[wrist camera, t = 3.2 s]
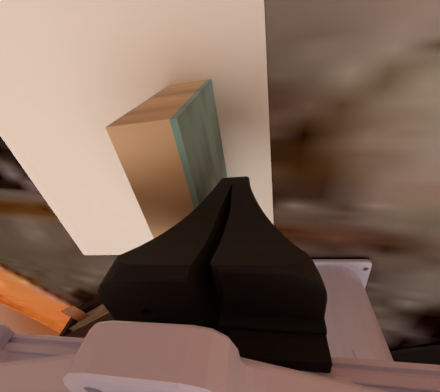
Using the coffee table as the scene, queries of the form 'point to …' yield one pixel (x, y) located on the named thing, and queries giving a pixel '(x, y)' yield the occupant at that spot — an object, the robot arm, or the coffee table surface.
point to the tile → (171, 152)
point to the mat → (124, 98)
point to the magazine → (418, 354)
